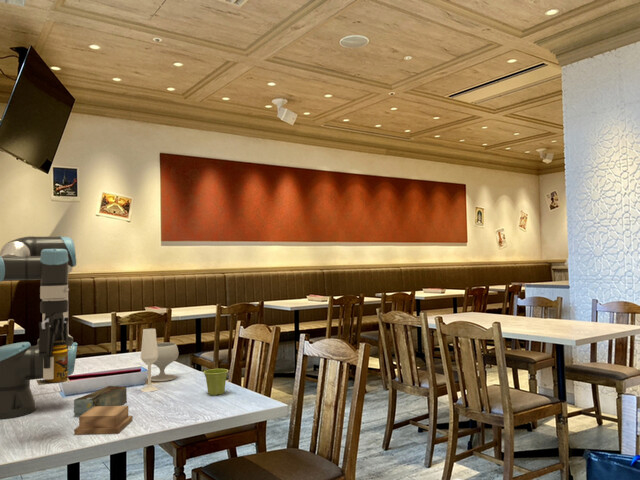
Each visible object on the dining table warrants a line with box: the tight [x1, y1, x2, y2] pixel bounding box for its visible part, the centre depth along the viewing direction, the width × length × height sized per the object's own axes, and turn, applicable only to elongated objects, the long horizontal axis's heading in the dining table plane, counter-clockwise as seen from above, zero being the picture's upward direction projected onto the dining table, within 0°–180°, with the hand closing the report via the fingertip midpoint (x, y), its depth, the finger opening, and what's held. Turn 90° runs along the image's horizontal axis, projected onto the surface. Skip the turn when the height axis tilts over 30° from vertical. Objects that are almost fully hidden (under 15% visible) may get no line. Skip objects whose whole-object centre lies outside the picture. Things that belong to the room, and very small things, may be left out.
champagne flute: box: [140, 328, 159, 393], centre depth 213 cm, size 7×7×24 cm
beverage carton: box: [73, 385, 128, 418], centre depth 185 cm, size 8×19×7 cm, turn 165°
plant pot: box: [203, 368, 229, 396], centre depth 204 cm, size 9×9×9 cm
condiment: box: [36, 340, 71, 386], centre depth 160 cm, size 7×8×12 cm
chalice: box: [151, 342, 180, 382], centre depth 232 cm, size 14×14×15 cm
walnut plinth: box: [73, 405, 134, 436], centre depth 165 cm, size 13×13×5 cm
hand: (54, 376), depth 160 cm, fingers closed on condiment, 6 cm apart
